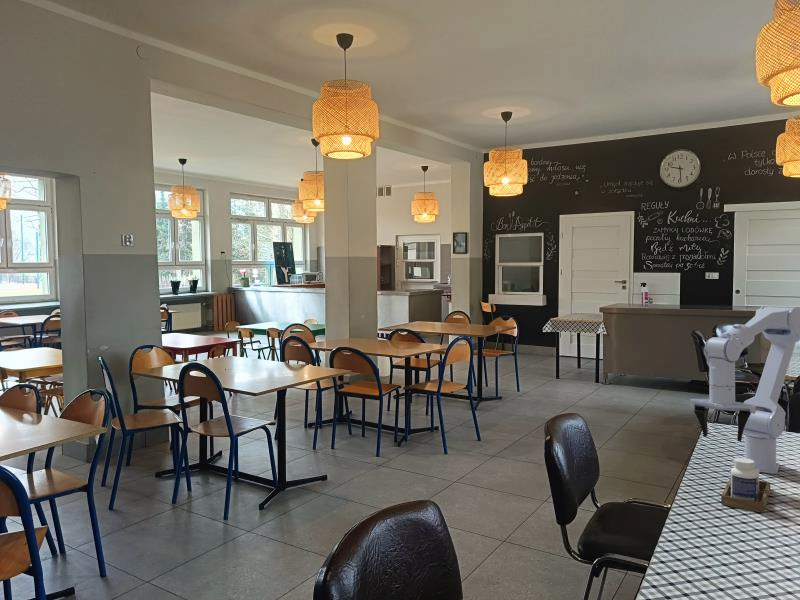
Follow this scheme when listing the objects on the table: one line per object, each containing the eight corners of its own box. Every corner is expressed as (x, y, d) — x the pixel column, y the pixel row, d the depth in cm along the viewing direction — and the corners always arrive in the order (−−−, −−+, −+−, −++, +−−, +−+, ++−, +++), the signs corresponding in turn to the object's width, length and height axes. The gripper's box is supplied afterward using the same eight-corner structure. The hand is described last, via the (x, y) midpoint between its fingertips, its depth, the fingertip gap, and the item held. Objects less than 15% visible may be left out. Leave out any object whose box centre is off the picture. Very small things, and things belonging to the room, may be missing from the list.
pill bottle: (762, 507, 130) (762, 464, 129) (735, 506, 131) (735, 463, 130) (752, 498, 135) (752, 457, 135) (727, 497, 136) (727, 456, 136)
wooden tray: (731, 483, 145) (731, 475, 145) (770, 490, 140) (770, 482, 140) (721, 504, 132) (721, 495, 132) (763, 512, 127) (763, 503, 127)
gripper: (687, 384, 149) (687, 437, 149) (753, 390, 140) (753, 446, 141) (692, 380, 154) (693, 431, 155) (756, 385, 146) (756, 439, 146)
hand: (722, 438), depth 148 cm, fingers open, 7 cm apart
